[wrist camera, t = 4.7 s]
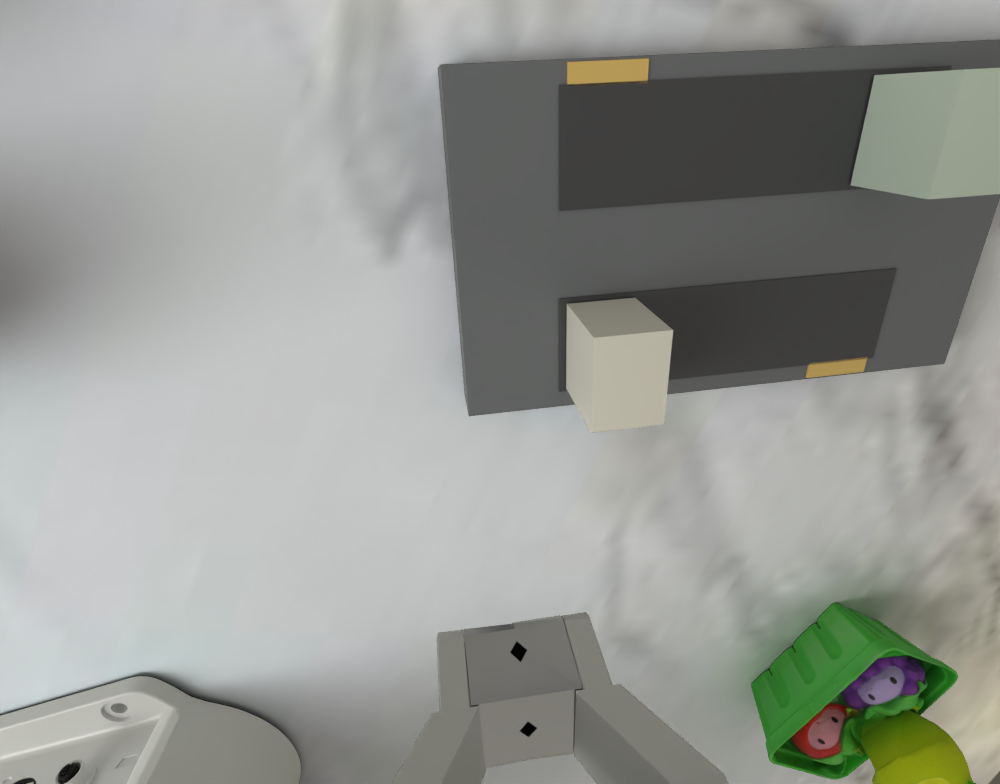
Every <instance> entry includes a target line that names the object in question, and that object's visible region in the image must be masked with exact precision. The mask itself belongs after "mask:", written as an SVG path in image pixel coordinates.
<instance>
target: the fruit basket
mask: <svg viewBox="0 0 1000 784" xmlns="http://www.w3.org/2000/svg"><path fill="white" fill-rule="evenodd" d="M957 678H958V675H957V672H956V671H954V670H953V669H952V668H950V667H949V666H947V665H946V664H944V663H943V662H941V661H939V660H937V659H934V658H932V657H930V656H929V655H927V654H926V653H925V652H923V651H922V650H920V649H919V648H917V647H916V646H914V645H913V644H912V643H910V642H909V641H907V640H906V639H904V638H903V637H901V636H900V635H899V634H897V633H896V632H894V631H893V630H891V629H890V628H888V627H887V626H885V625H884V624H883V623H881V622H880V621H877V620H872V619H870V618H869V617H868V616H866V615H863V614H861V613H859V612H856V611H854V610H852V609H846V608H844V607H843V606H842V605H840V604H838V603H833V604H832V605H831V606H830V607H829V608H828V609H827V610H826V611H825V612H824V613H823V614H822V615H821V616H820V617H819V619H818V620H817V623H814V624H813V625H811V626H810V627H809V628H808V629H807V630H806V631H805V632H804V633H803V634H802V635H801V636H800V637H799V638H798V639H797V640H796V641H795V643H794V644H793V647H790V648H788V649H787V650H785V651H784V652H783V653H782V654H781V655H780V656H779V657H778V658H777V659H776V660H775V661H774V662H773V664H772V665H771V667H770V669H769V670H767V671H765V672H763V673H762V674H761V675H760V676H759V677H758V678H757V679H756V680H755V681H754V682H753V683H752V685H751V687H752V690H753V694H754V697H755V701H756V705H757V708H758V712H759V715H760V719H761V722H762V726H763V730H764V733H765V736H766V740H767V741H766V747H767V751H768V756H769V760H770V761H771V762H772V763H774V764H777V765H781V766H785V767H788V768H793V769H796V770H800V771H804V772H807V773H811V774H814V775H817V776H821V777H824V778H829V779H840V778H843V777H845V776H848V775H849V774H850V773H851V772H852V771H854V770H855V769H856V768H857V767H858V766H860V765H861V764H862V763H864V762H865V761H866V760H868V759H869V758H870V760H871V762H872V764H873V766H874V768H875V774H874V777H873V780H872V782H873V784H976V783H974V782H973V780H972V778H971V776H970V772H969V768H968V765H967V762H966V760H965V757H964V755H963V753H962V752H961V750H960V749H959V747H958V746H957V744H956V743H955V742H954V740H953V739H952V738H951V737H950V736H949V735H948V734H947V733H946V732H945V731H944V730H943V729H941V728H940V727H939V726H938V725H936V724H934V723H933V722H931V721H929V720H927V719H925V718H923V717H922V716H920V715H921V714H922V713H923V712H924V711H925V710H926V709H927V708H928V707H929V706H931V705H932V704H933V703H934V702H935V701H936V700H937V699H938V698H939V697H940V696H942V695H943V694H944V693H945V692H946V691H947V690H948V689H949V688H950V687H951V686H952V685H953V684H954V683H955V682H956V680H957Z"/></svg>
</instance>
